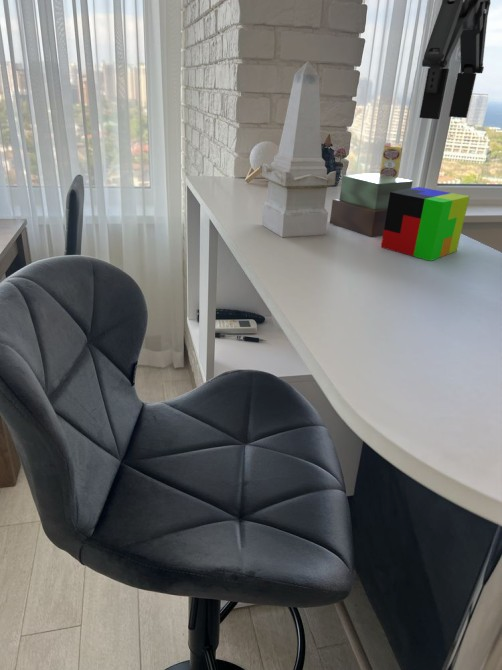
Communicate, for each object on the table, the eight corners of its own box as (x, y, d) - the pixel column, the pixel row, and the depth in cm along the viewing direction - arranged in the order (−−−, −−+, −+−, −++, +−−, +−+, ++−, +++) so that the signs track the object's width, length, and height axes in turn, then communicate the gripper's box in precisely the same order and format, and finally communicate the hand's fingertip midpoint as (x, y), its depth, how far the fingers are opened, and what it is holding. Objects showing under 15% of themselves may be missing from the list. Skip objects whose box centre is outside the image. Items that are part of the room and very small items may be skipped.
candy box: (391, 218, 116) (403, 147, 109) (372, 216, 117) (383, 145, 110) (392, 210, 123) (403, 143, 117) (374, 208, 124) (384, 142, 117)
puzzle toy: (408, 238, 100) (418, 186, 96) (456, 251, 94) (469, 196, 89) (380, 247, 94) (390, 192, 89) (430, 260, 87) (443, 202, 83)
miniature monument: (328, 234, 99) (349, 62, 86) (280, 238, 96) (295, 58, 82) (303, 221, 108) (319, 63, 95) (259, 224, 104) (268, 59, 91)
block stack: (410, 230, 106) (420, 181, 102) (371, 236, 100) (379, 185, 95) (368, 217, 115) (375, 172, 110) (329, 223, 108) (335, 174, 104)
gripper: (475, -30, 80) (446, 115, 90) (418, -70, 62) (389, 117, 72) (526, -34, 77) (490, 118, 86) (481, -78, 58) (441, 121, 68)
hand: (444, 118), depth 79 cm, fingers open, 13 cm apart
